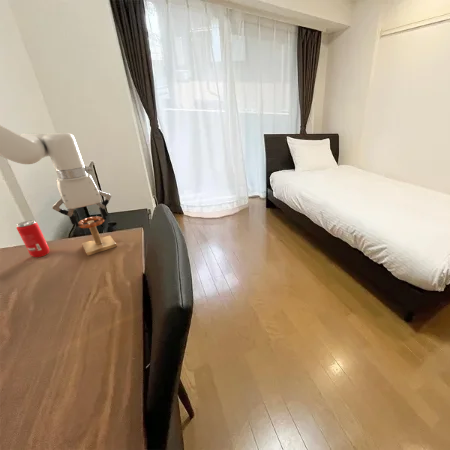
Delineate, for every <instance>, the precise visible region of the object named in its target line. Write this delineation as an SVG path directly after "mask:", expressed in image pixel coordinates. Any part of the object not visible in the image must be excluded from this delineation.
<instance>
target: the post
mask: <svg viewBox="0 0 450 450" xmlns="http://www.w3.org/2000/svg"><path fill="white" fill-rule="evenodd" d="M94 222H95V221H93V220H91V221H88V222H86V224H91V223H94ZM89 231H90V233H91V236H92V238H93V240H89V241H85V242H82V243H81V245H82V247H83V249H84V251H85V253H86V256H91V255H94V254H97V253H100V252H103V251H107V250H111V249H114V248H117V247H118V245H117V243H116V242H115V240H114V239H113V238H112V236H111V235H110V234H109V235H106V236H102V237H101V236H100V233H99V230H98V228H97V226H95V227H92V228H89Z"/></svg>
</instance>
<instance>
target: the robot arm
mask: <svg viewBox="0 0 450 450" xmlns="http://www.w3.org/2000/svg"><path fill="white" fill-rule="evenodd" d="M0 157H2V158H5V159H6V160H9V161H11V162H13V163H17V164H21V165H33V164H37V163H39V162H40V161H41V160H42V159H44V158H46V157H50V160H51V163H52V164H53V168H54V169H55V172H56V175H57V177H58V178H56V180H55V181H56V187H57V189H58V192H59V197H60V198H59V199H58V200H57V201H56V202H55V203H53V205H51V209H52V210H54V211H56V212H59V213H60V214H62V215H64V216H67V217H68V218H69V220H70V223H71V224H72V225H75V227H76V228H79V225H78V221H77V218H76V216H75V214H74V211H75V209H79V208H85V207H89V206H92V205H97V206H98V210H99V213H100V215H101V217H103V219H104V221H105V220H107V217H108V214H107V210H106V207H107V206H108V204H109V202H110V200H111V198H112V195H111V193H107V192H105V191H102V190H100V189H99V188H98V187H97V185H96V182H95V181H94V178H93V177H92V175H91V173H89V172H92V170H93V169H92V167H91V166H86V165H85V163H84V160H83V158H82V154H81V152H80V149H79V146H78V143H77V141H76V138H75V136H74V135H73V134H72V133H70V132H65V131H63V132H50V133H35V132H33V133H32V132H31V133H30V132H27V133H21V134H19V133H17V132H14V131H12V130H11V129H9V128H7V127H5V126H3V125H1V124H0ZM102 197H104V199H103V200H102ZM62 205H64V206H65V209H64V208H61V206H62Z"/></svg>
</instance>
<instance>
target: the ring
mask: <svg viewBox="0 0 450 450" xmlns="http://www.w3.org/2000/svg"><path fill="white" fill-rule="evenodd" d="M91 220H93V221H94V223H91V224H88V223H87V222H88V221H91ZM104 222H105V219H103V217H102V216H97V215H96V216H89V217H86V218H83V219H81V220H79V221H77V223H78V225H79V226H78V228H80V229H90V228H92V227H95V226H96V227H98V226H100V225H102V224H103V223H104Z"/></svg>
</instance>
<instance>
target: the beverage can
mask: <svg viewBox="0 0 450 450" xmlns="http://www.w3.org/2000/svg"><path fill="white" fill-rule="evenodd" d="M16 231H17V232H18V234H19V236H20V238H21V240H22V242H23V244H24V246H25V247H26V250H27V252H28V254H29V256H31V257H33V258H42V257H44V256H47V255H48V254H50V247H49V244H48V243H47V240H46V239H45V236H44V234H43V232H42V230H41V228H40V226H39V224H38V222H36V220H25V221H21V222H19V223H17V224H16Z"/></svg>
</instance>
